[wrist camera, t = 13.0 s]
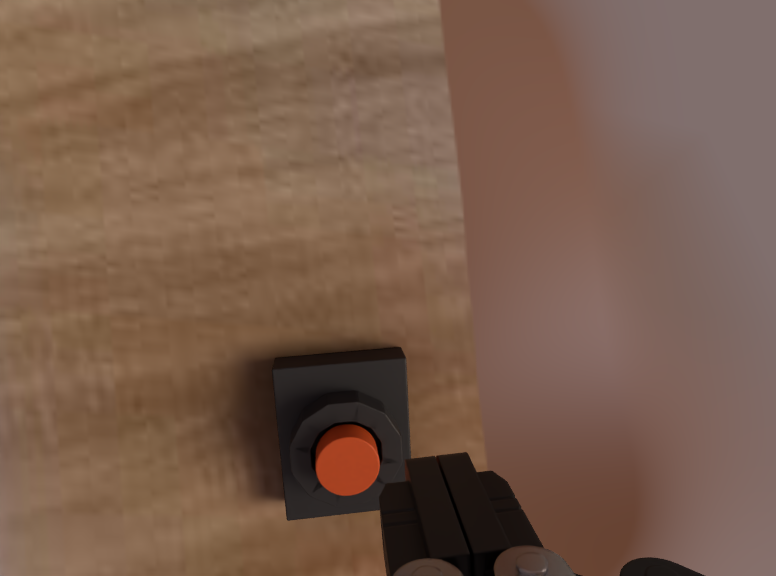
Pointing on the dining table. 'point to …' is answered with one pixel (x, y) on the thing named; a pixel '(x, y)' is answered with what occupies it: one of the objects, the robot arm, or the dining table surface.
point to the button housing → (339, 422)
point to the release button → (347, 460)
